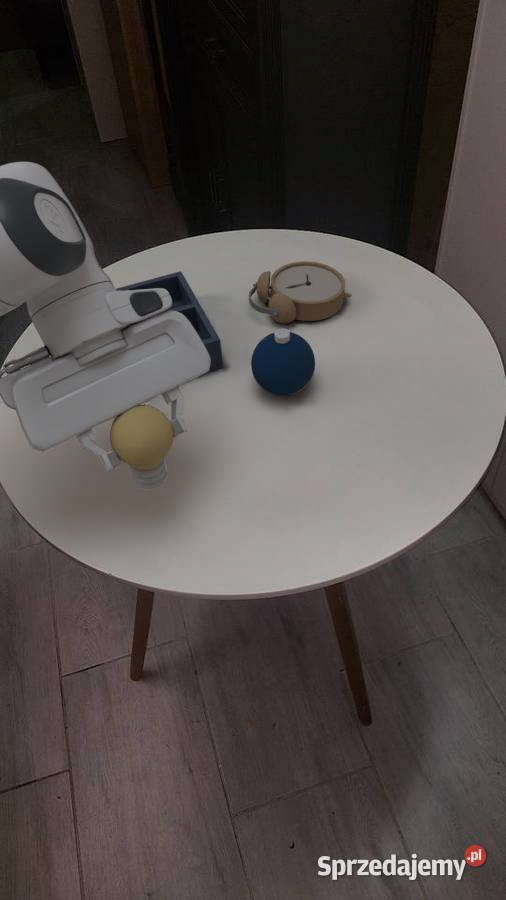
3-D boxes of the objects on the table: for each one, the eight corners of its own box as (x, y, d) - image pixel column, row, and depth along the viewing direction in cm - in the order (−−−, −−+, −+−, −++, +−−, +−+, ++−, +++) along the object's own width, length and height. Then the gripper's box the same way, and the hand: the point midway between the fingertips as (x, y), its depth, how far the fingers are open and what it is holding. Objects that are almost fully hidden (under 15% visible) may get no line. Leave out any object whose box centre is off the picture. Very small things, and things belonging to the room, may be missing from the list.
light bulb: (189, 465, 76) (179, 400, 69) (165, 508, 72) (152, 444, 65) (137, 451, 78) (122, 386, 70) (111, 493, 74) (92, 429, 66)
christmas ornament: (294, 358, 96) (293, 300, 89) (326, 393, 91) (328, 335, 84) (241, 380, 94) (236, 322, 87) (272, 417, 89) (269, 359, 82)
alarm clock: (360, 294, 100) (267, 306, 95) (353, 322, 104) (263, 335, 99) (327, 255, 107) (238, 265, 102) (321, 283, 111) (235, 293, 106)
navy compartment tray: (100, 405, 92) (92, 377, 89) (74, 329, 104) (65, 302, 100) (223, 367, 96) (220, 339, 92) (185, 298, 107) (181, 270, 103)
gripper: (-13, 365, 62) (58, 500, 64) (180, 283, 69) (240, 406, 71) (-14, 375, 68) (52, 498, 70) (165, 298, 75) (220, 411, 77)
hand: (148, 451), depth 70 cm, fingers closed on light bulb, 6 cm apart
